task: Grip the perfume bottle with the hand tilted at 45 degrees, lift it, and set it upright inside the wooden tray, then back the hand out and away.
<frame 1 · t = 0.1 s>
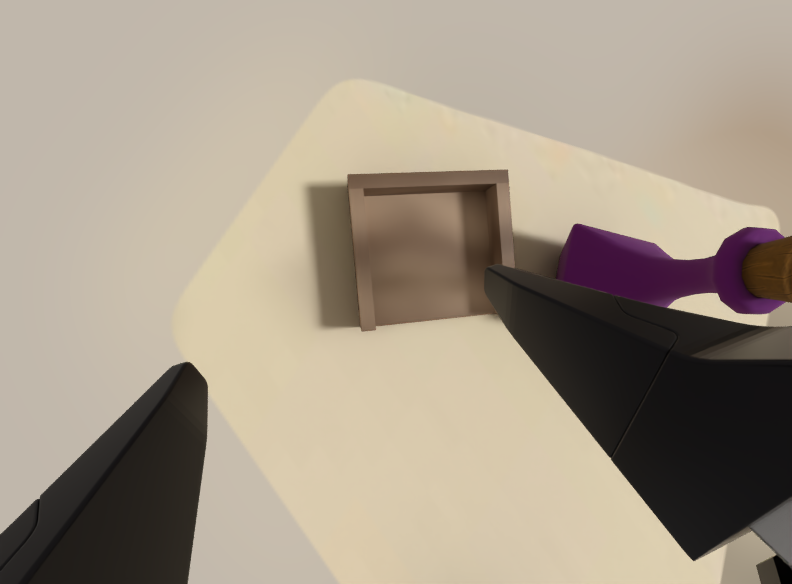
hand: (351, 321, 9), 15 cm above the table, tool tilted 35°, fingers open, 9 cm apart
perfume bottle: (575, 281, 27), on the table
wooden tray: (428, 257, 25), on the table
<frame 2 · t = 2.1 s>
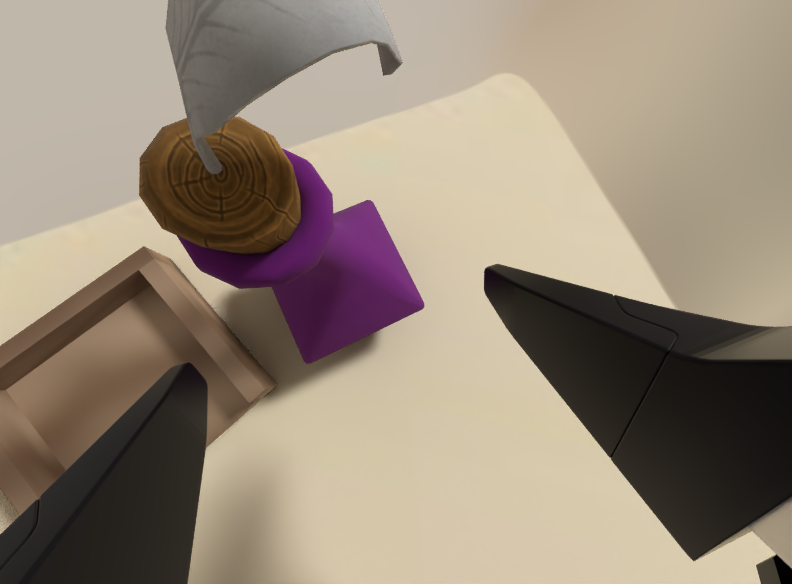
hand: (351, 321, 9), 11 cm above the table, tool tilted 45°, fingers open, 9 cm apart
perfume bottle: (345, 288, 21), on the table
wooden tray: (144, 392, 19), on the table
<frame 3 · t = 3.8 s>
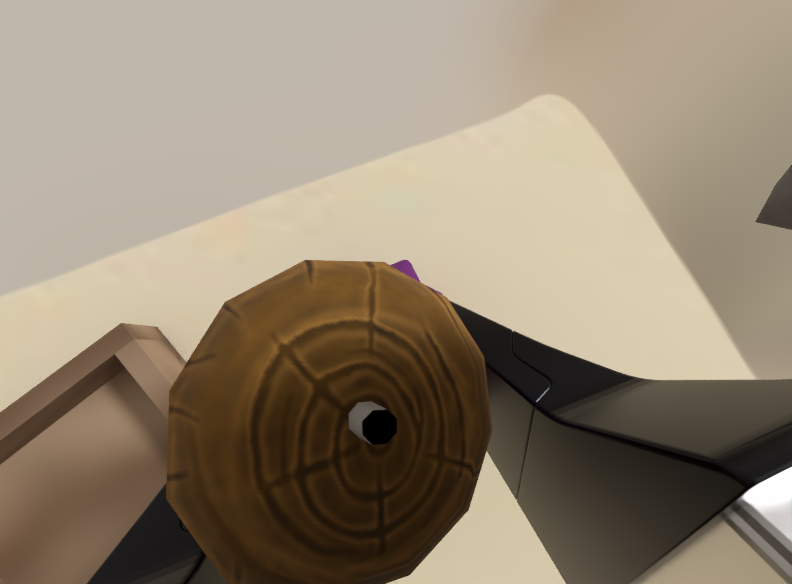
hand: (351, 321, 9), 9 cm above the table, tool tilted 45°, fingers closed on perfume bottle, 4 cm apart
perfume bottle: (366, 359, 17), on the table, touching gripper
wooden tray: (124, 498, 15), on the table
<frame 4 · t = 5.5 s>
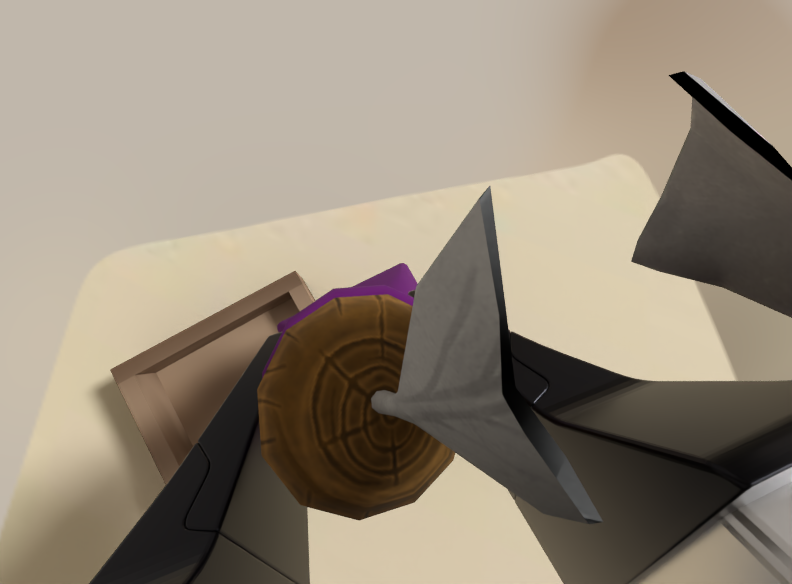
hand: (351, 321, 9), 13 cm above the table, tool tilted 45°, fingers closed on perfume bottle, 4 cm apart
perfume bottle: (370, 355, 19), point 3 cm above the table, touching gripper
wooden tray: (266, 396, 21), on the table
when the fingers open (11 cm above the table, at t = 7.2 s): perfume bottle stays where it is, resting on wooden tray.
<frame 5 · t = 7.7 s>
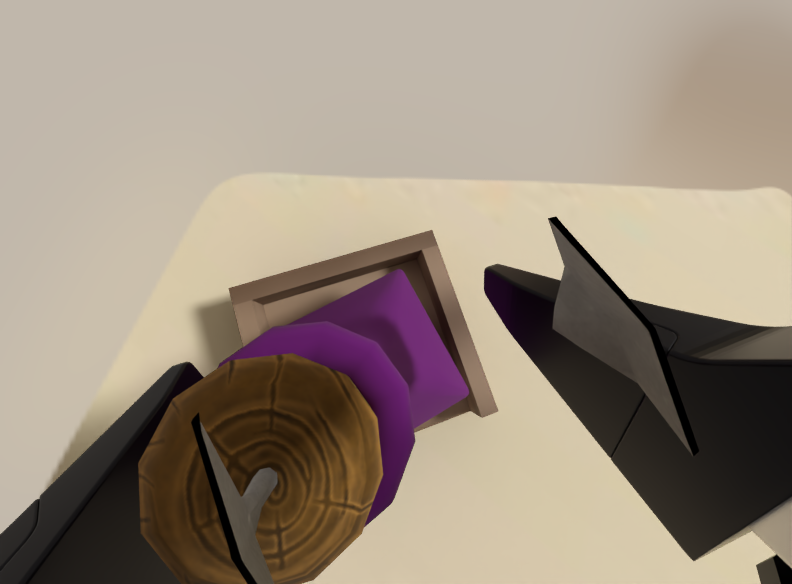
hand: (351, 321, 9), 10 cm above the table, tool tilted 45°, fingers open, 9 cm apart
perfume bottle: (371, 361, 19), resting on wooden tray
wooden tray: (366, 357, 19), on the table
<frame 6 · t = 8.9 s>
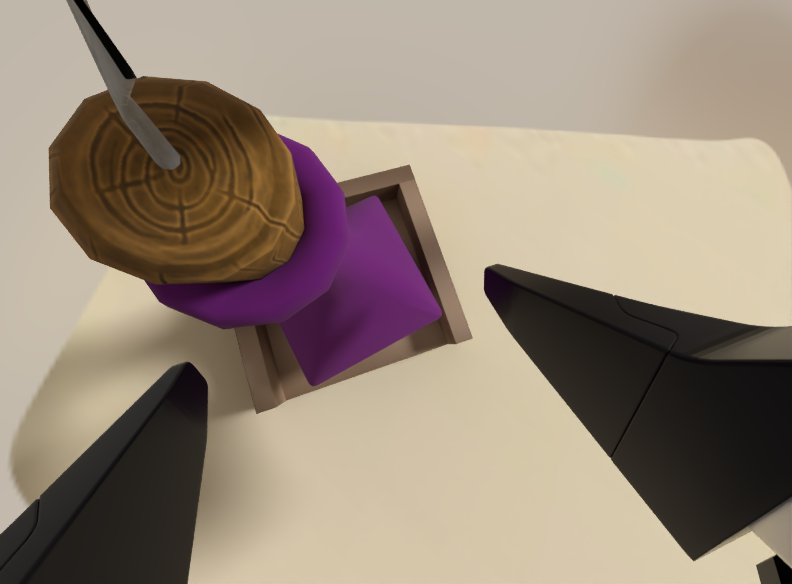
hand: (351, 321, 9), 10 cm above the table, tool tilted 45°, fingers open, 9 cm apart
perfume bottle: (349, 295, 19), resting on wooden tray
wooden tray: (345, 293, 19), on the table
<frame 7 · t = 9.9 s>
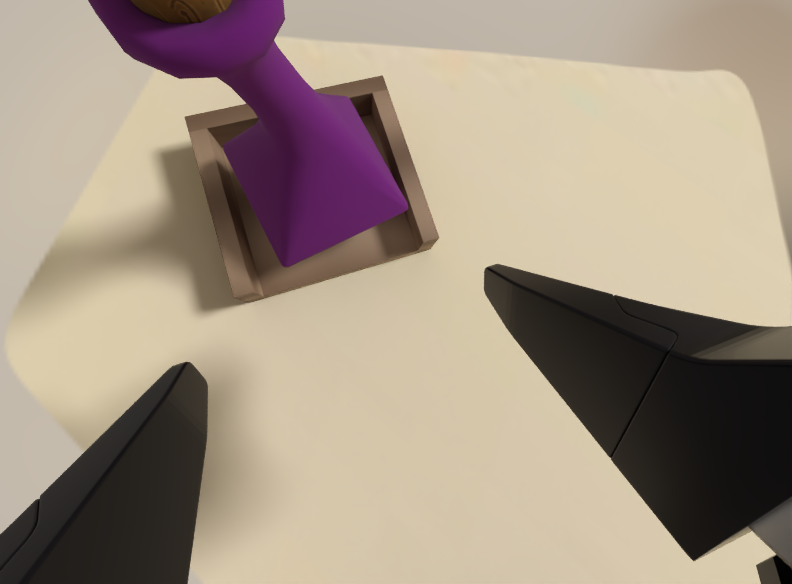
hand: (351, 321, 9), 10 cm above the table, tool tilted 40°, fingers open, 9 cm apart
perfume bottle: (325, 204, 20), resting on wooden tray
wooden tray: (322, 203, 20), on the table
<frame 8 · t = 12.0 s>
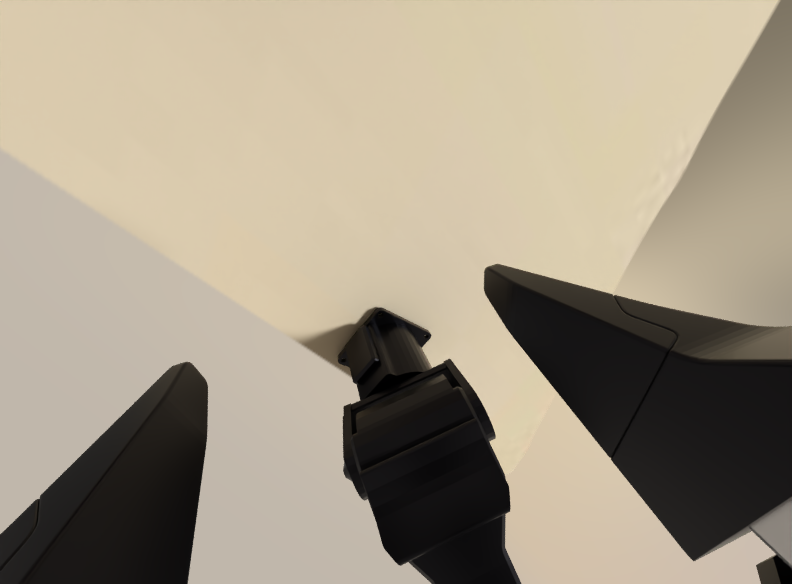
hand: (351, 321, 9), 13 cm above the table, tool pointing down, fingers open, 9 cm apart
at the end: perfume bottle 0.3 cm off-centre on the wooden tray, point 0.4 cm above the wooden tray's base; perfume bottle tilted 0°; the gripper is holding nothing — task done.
